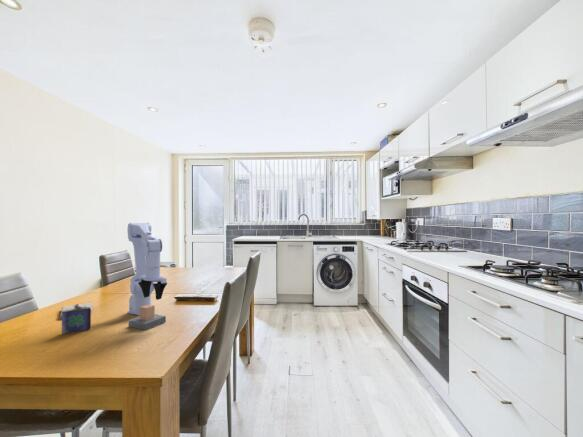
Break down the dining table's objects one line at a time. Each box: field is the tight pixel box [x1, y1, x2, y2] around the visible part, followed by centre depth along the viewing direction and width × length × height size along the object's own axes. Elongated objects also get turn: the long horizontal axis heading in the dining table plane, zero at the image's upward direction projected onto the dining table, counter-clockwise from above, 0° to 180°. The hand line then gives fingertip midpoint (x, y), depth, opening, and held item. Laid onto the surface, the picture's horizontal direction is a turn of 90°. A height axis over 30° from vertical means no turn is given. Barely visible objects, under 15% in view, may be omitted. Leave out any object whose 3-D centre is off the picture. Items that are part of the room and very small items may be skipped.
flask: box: [61, 303, 92, 335], centre depth 111 cm, size 9×3×11 cm, turn 121°
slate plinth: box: [128, 313, 167, 331], centre depth 118 cm, size 10×10×3 cm
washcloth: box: [60, 302, 93, 321], centre depth 134 cm, size 12×18×3 cm, turn 39°
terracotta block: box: [139, 304, 156, 320], centre depth 118 cm, size 4×4×5 cm
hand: (152, 298), depth 121 cm, fingers open, 7 cm apart
